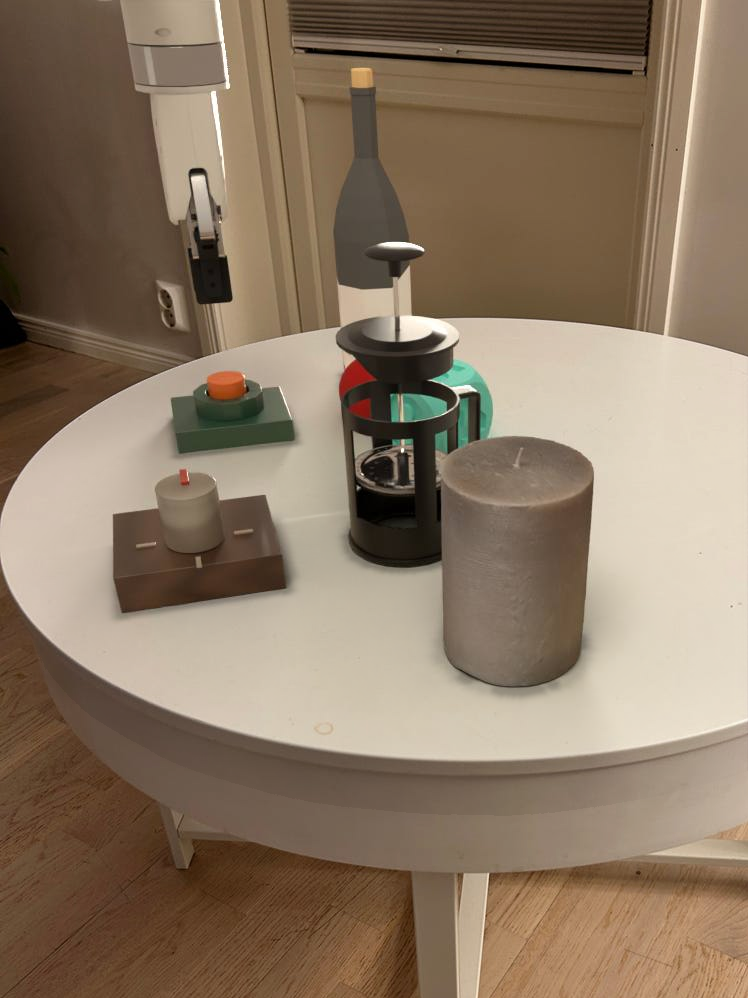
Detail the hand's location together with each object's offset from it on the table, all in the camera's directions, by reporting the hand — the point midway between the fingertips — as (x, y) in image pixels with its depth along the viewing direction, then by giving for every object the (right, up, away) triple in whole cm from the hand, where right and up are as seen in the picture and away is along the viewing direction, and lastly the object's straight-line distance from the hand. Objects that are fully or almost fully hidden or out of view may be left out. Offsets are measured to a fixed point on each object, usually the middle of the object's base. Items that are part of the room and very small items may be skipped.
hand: (213, 295), depth 92 cm
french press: (+19, -23, -10) cm, 32 cm away
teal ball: (+20, -14, +4) cm, 25 cm away
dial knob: (+3, -24, -16) cm, 29 cm away
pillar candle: (+27, -32, -22) cm, 47 cm away
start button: (0, -8, +6) cm, 10 cm away
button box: (0, -11, +8) cm, 13 cm away
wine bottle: (+13, -3, +20) cm, 24 cm away
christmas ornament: (+14, -10, +9) cm, 20 cm away
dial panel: (+3, -26, -14) cm, 30 cm away
